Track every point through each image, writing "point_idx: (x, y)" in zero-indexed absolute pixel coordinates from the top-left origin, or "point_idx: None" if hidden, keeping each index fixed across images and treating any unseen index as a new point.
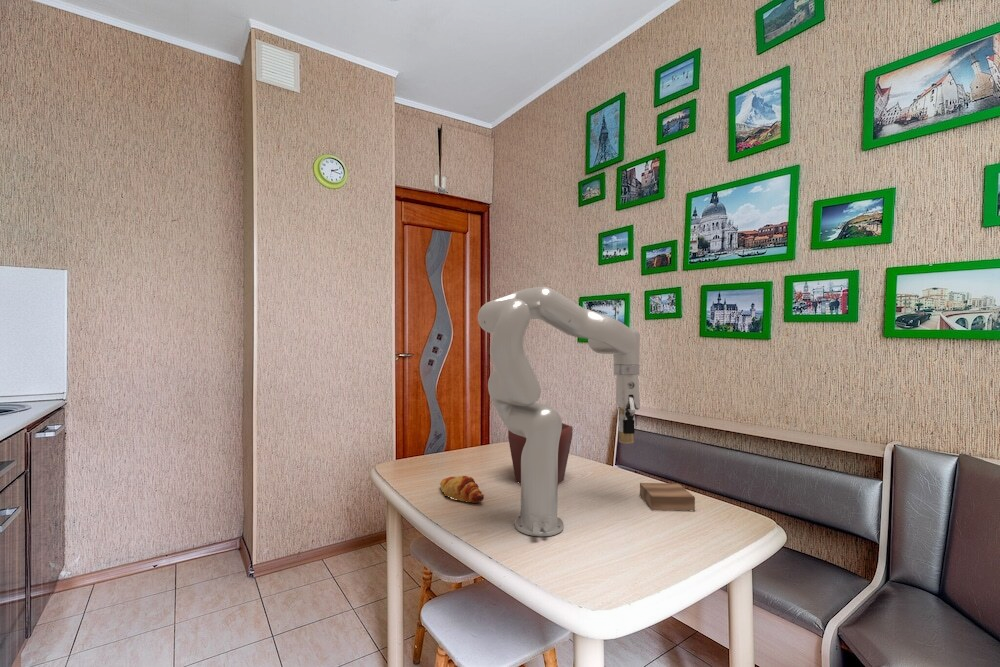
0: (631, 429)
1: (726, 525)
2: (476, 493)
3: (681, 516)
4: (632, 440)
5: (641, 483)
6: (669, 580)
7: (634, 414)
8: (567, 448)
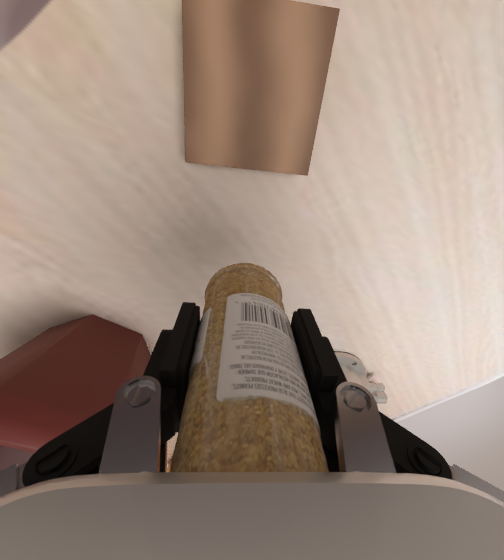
0: (328, 344)
1: None
2: None
3: (347, 103)
4: (274, 283)
5: (190, 159)
6: None
7: (436, 454)
8: (58, 373)
